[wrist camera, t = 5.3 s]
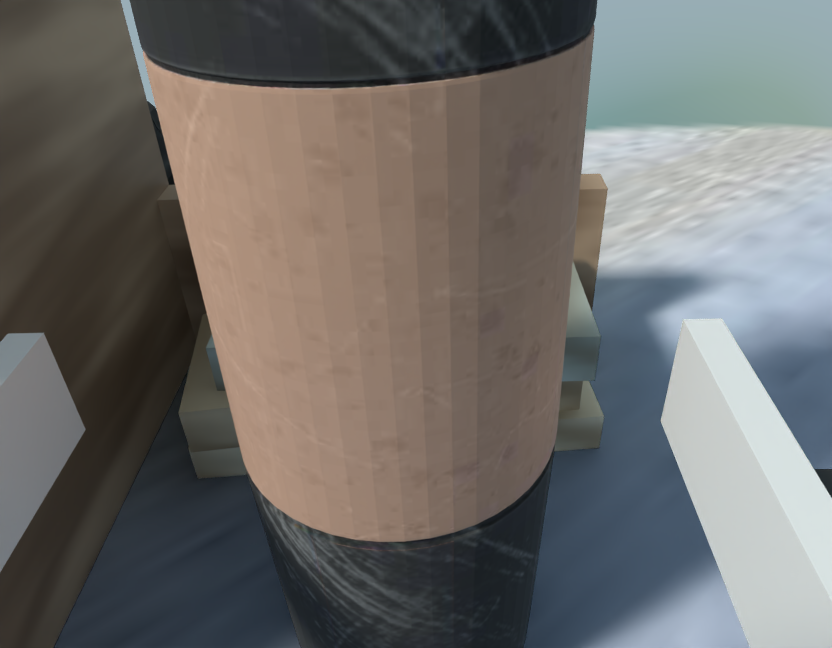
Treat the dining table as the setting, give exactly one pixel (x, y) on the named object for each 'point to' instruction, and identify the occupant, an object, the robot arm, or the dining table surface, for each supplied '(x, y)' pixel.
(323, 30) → the travel mug
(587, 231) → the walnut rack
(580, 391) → the offcut stack
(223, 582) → the dining table surface
